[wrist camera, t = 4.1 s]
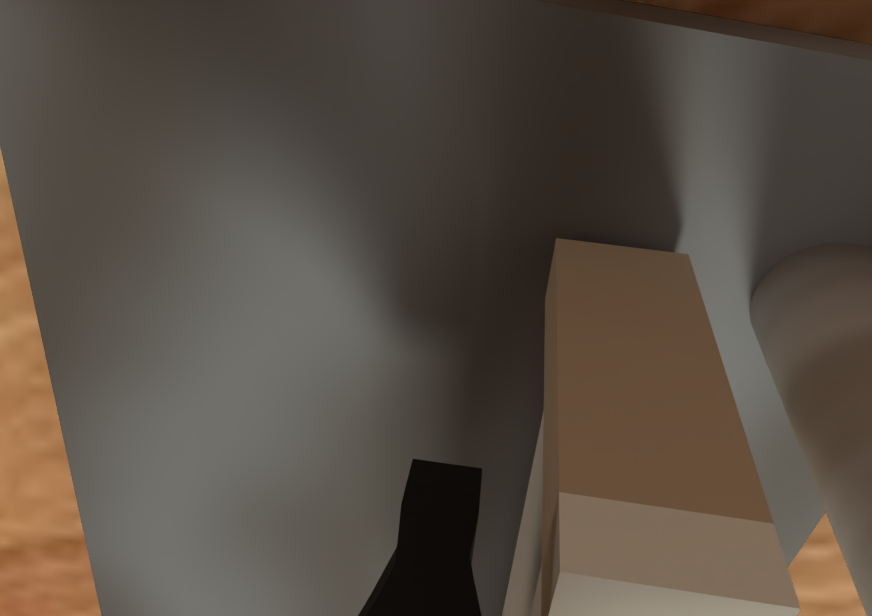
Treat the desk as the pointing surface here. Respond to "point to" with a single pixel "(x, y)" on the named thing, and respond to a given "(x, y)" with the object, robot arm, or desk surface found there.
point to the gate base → (411, 264)
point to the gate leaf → (640, 455)
